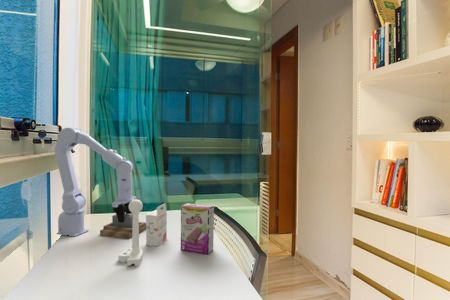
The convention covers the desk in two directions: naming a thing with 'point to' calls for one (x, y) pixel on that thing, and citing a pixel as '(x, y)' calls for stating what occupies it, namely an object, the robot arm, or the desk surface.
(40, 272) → the desk surface
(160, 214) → the ink cartridge box
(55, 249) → the desk surface
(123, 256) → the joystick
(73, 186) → the robot arm
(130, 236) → the stand
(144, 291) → the desk surface
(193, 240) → the candy bar box
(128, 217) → the housing
